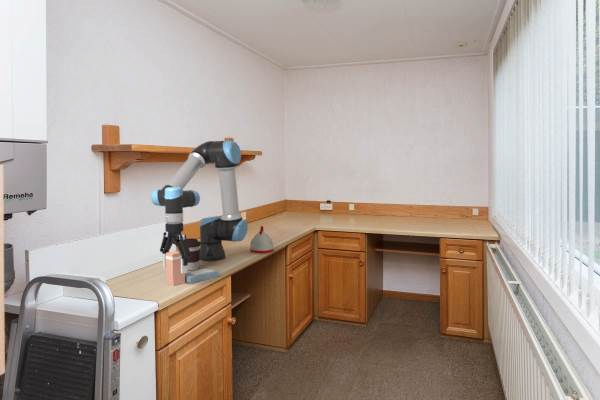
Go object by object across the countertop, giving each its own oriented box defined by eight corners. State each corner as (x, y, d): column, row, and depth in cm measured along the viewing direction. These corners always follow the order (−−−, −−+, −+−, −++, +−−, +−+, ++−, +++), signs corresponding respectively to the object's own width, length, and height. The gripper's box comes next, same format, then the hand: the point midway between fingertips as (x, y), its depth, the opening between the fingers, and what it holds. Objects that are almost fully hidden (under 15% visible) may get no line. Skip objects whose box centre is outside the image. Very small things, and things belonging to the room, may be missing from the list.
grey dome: (275, 249, 273) (274, 224, 272) (271, 253, 259) (271, 228, 258) (252, 248, 274) (252, 224, 273) (247, 253, 261) (247, 227, 259)
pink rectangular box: (178, 281, 201) (177, 250, 200) (185, 283, 198) (184, 252, 196) (166, 284, 196) (165, 252, 195) (173, 286, 193) (172, 254, 192)
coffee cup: (191, 265, 230) (191, 237, 229) (205, 268, 224) (204, 239, 223) (176, 269, 222) (175, 240, 220) (190, 272, 216) (189, 242, 215)
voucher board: (205, 272, 215) (205, 267, 215) (219, 276, 209) (218, 270, 208) (175, 280, 203) (175, 274, 202) (188, 284, 196) (188, 278, 196)
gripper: (151, 221, 200) (152, 267, 202) (183, 226, 184) (184, 276, 185) (165, 219, 205) (167, 264, 207) (198, 224, 189) (199, 273, 191)
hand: (175, 270), depth 196 cm, fingers open, 13 cm apart
